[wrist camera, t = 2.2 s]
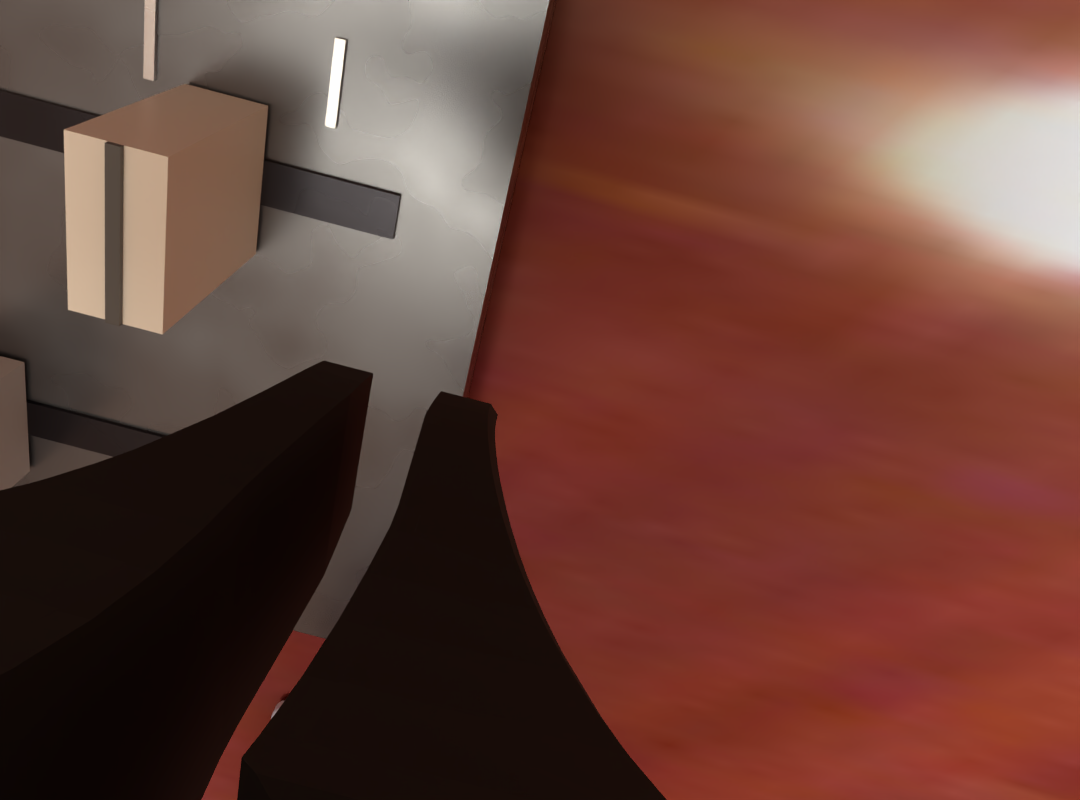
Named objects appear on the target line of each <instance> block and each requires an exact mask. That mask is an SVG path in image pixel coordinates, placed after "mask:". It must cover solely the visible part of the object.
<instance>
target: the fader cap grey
mask: <svg viewBox="0 0 1080 800" xmlns="http://www.w3.org/2000/svg"><path fill="white" fill-rule="evenodd" d="M28 472H30V462H29V443H28V423H27V404H26V384H25V365H24V362H21V361H18V360H14V359H10V358H6V357H2V356H0V490H4V489H8V488H12V487H13V486H14V485H15V484H16V483H17V482H18V481H19V480H21V479H22V478H23V477H24V476H25V475H26V474H27V473H28Z"/></svg>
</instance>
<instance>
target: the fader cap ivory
mask: <svg viewBox="0 0 1080 800" xmlns="http://www.w3.org/2000/svg"><path fill="white" fill-rule="evenodd" d="M267 115H268V105H264V104H260V103H256V102H252V101H249V100H245V99H241V98H237V97H233V96H230V95H226V94H222V93H218V92H215V91H211V90H207V89H203V88H199V87H196V86H192V85H188V84H183V85H180V86H178V87H175V88H172V89H170V90H167V91H164V92H162V93H159V94H156V95H154V96H151V97H149V98H146V99H143V100H141V101H138V102H135V103H133V104H130V105H127V106H125V107H122V108H119V109H117V110H114V111H111V112H109V113H106V114H104V115H101V116H98V117H96V118H93V119H90V120H88V121H85V122H82V123H80V124H77V125H74V126H72V127H69V128H66V129H64V166H65V207H66V249H67V290H68V310H71V311H75V312H78V313H82V314H86V315H90V316H94V317H97V318H101V319H105V323H108V324H112V325H116V326H120V325H122V324H124V325H128V326H132V327H136V328H140V329H143V330H147V331H151V332H155V333H159V334H164V333H165V332H166V331H167V330H168V329H169V328H171V327H172V326H173V325H174V324H175V323H176V322H178V321H179V320H180V319H181V318H182V317H183V316H185V315H186V314H187V313H188V312H189V311H190V310H191V309H193V308H194V307H195V306H196V305H197V304H198V303H200V302H201V301H202V300H203V299H204V298H205V297H207V296H208V295H209V294H210V293H211V292H212V291H213V290H215V289H216V288H217V287H218V286H219V285H220V284H222V283H223V282H224V281H225V280H226V279H227V278H229V277H230V276H231V275H232V274H233V273H234V272H235V271H237V270H238V269H239V268H240V267H241V266H242V265H244V264H245V263H246V262H247V261H248V260H249V259H251V258H252V257H253V256H254V255H255V254H256V246H257V234H258V223H259V211H260V199H261V187H262V175H263V163H264V151H265V139H266V127H267Z"/></svg>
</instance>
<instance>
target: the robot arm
mask: <svg viewBox="0 0 1080 800" xmlns="http://www.w3.org/2000/svg"><path fill="white" fill-rule="evenodd" d="M372 379H373V373H370V372H366V371H363V370H359V369H355V368H351V367H347V366H343V365H340V364H336V363H332V362H328V361H322V362H319V363H317V364H315V365H313V366H311V367H309V368H307V369H305V370H303V371H301V372H299V373H297V374H295V375H293V376H291V377H289V378H288V379H286V380H284V381H282V382H280V383H278V384H276V385H274V386H272V387H270V388H268V389H266V390H264V391H262V392H260V393H258V394H256V395H254V396H252V397H250V398H248V399H246V400H244V401H242V402H240V403H238V404H236V405H234V406H232V407H230V408H228V409H226V410H224V411H222V412H220V413H218V414H216V415H214V416H211V417H209V418H207V419H205V420H202V421H200V422H198V423H195V424H193V425H191V426H188V427H186V428H183V429H181V430H179V431H176V432H174V433H172V434H169V435H167V436H165V437H162V438H160V439H158V440H155V441H153V442H151V443H148V444H146V445H144V446H141V447H139V448H136V449H133V450H131V451H128V452H125V453H123V454H120V455H117V456H114V457H112V458H109V459H106V460H103V461H100V462H97V463H94V464H91V465H88V466H85V467H82V468H78V469H75V470H72V471H69V472H66V473H63V474H59V475H56V476H53V477H50V478H46V479H43V480H39V481H36V482H32V483H29V484H25V485H20V486H16V487H12V488H8V489H4V490H0V800H201V799H202V797H203V795H204V792H205V790H206V788H207V786H208V784H209V781H210V779H211V777H212V775H213V773H214V770H215V768H216V766H217V764H218V762H219V759H220V758H221V756H222V754H223V752H224V750H225V748H226V746H227V744H228V742H229V740H230V739H231V737H232V735H233V733H234V731H235V729H236V727H237V725H238V723H239V722H240V720H241V718H242V717H243V715H244V713H245V711H246V710H247V708H248V706H249V705H250V703H251V701H252V699H253V698H254V696H255V694H256V693H257V691H258V689H259V687H260V686H261V684H262V682H263V681H264V679H265V677H266V675H267V674H268V672H269V670H270V669H271V667H272V665H273V663H274V662H275V660H276V658H277V657H278V655H279V653H280V651H281V650H282V648H283V646H284V645H285V643H286V641H287V639H288V638H289V636H290V634H291V633H292V631H293V629H294V627H295V626H296V624H297V622H298V620H299V619H300V617H301V615H302V613H303V612H304V610H305V608H306V607H307V605H308V603H309V601H310V600H311V598H312V596H313V594H314V593H315V591H316V589H317V587H318V586H319V584H320V582H321V580H322V578H323V577H324V574H325V572H326V570H327V567H328V565H329V563H330V560H331V558H332V556H333V553H334V551H335V549H336V546H337V544H338V541H339V539H340V536H341V534H342V532H343V529H344V527H345V524H346V522H347V519H348V517H349V514H350V512H351V509H352V503H353V497H354V491H355V484H356V478H357V472H358V466H359V460H360V453H361V447H362V441H363V435H364V428H365V422H366V416H367V410H368V404H369V397H370V391H371V385H372ZM496 420H497V413H496V412H495V410H494V408H493V407H492V405H491V404H489V403H485V402H481V401H477V400H474V399H470V398H466V397H462V396H458V395H454V394H451V393H447V392H443V391H441V392H440V393H439V394H438V396H437V397H436V398H435V400H434V401H433V402H432V404H431V406H430V407H429V409H428V410H427V412H426V414H425V417H424V420H423V424H422V427H421V431H420V434H419V437H418V441H417V444H416V447H415V451H414V454H413V458H412V461H411V464H410V468H409V471H408V475H407V478H406V481H405V485H404V488H403V492H402V495H401V498H400V502H399V505H398V508H397V510H396V513H395V515H394V518H393V520H392V523H391V525H390V528H389V530H388V531H387V533H386V535H385V537H384V539H383V541H382V543H381V545H380V547H379V548H378V550H377V552H376V554H375V556H374V558H373V560H372V562H371V564H370V565H369V567H368V569H367V571H366V573H365V575H364V576H363V578H362V580H361V582H360V583H359V585H358V587H357V589H356V590H355V592H354V594H353V595H352V597H351V599H350V601H349V602H348V604H347V606H346V608H345V609H344V611H343V613H342V615H341V616H340V618H339V620H338V621H337V623H336V624H335V626H334V628H333V629H332V631H331V632H330V634H329V635H328V637H327V639H326V640H325V642H324V643H323V645H322V646H321V648H320V650H319V651H318V653H317V654H316V656H315V657H314V659H313V660H312V662H311V664H310V665H309V667H308V668H307V670H306V671H305V673H304V675H303V676H302V677H301V679H300V680H299V681H298V683H297V684H296V686H295V687H294V688H293V690H292V691H291V693H290V694H289V695H288V697H287V698H286V699H285V700H284V701H281V702H279V703H278V704H277V705H276V707H275V709H274V712H273V714H272V716H271V720H270V722H269V723H268V724H267V726H266V727H265V729H264V730H263V731H262V733H261V734H260V735H259V737H258V738H257V739H256V740H255V742H254V743H253V744H252V745H251V747H250V748H249V749H248V750H247V752H246V753H245V754H244V755H243V757H242V761H241V770H240V780H239V789H238V799H237V800H666V799H665V798H664V796H663V795H662V794H661V793H660V792H659V791H658V789H657V788H656V787H655V786H654V785H653V783H652V782H651V781H650V780H649V779H648V778H647V776H646V775H645V774H644V773H643V772H642V770H641V769H640V768H639V767H638V766H637V765H636V763H635V762H634V761H633V760H632V759H631V758H630V756H629V755H628V754H627V752H626V751H625V750H624V749H623V747H622V746H621V744H620V743H619V742H618V740H617V739H616V737H615V736H614V735H613V733H612V732H611V730H610V729H609V727H608V726H607V725H606V723H605V722H604V720H603V719H602V718H601V716H600V714H599V713H598V711H597V709H596V708H595V706H594V704H593V703H592V701H591V699H590V698H589V696H588V694H587V693H586V691H585V689H584V688H583V686H582V684H581V683H580V681H579V679H578V678H577V676H576V675H575V673H574V671H573V670H572V668H571V666H570V665H569V663H568V661H567V660H566V658H565V656H564V655H563V653H562V651H561V649H560V647H559V645H558V643H557V641H556V639H555V637H554V635H553V633H552V631H551V629H550V627H549V625H548V623H547V621H546V619H545V617H544V615H543V612H542V610H541V608H540V606H539V603H538V601H537V599H536V596H535V594H534V592H533V590H532V587H531V585H530V582H529V579H528V577H527V574H526V572H525V569H524V566H523V563H522V560H521V558H520V555H519V551H518V548H517V545H516V542H515V539H514V536H513V532H512V529H511V525H510V522H509V518H508V514H507V510H506V506H505V501H504V497H503V492H502V487H501V483H500V478H499V472H498V466H497V457H496V448H495V424H496Z"/></svg>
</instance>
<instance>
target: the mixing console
mask: <svg viewBox="0 0 1080 800" xmlns="http://www.w3.org/2000/svg"><path fill="white" fill-rule="evenodd" d="M555 4H556V0H0V356H2V357H6V358H10V359H14V360H18V361H21V362H24V365H25V384H26V404H27V423H28V443H29V462H30V472H28V473H27V474H26V475H25V476H24V477H23V478H22V479H21V480H19V481H18V482H17V483H16V484H15V485H14V486H13V487H16V486H20V485H25V484H29V483H32V482H36V481H39V480H43V479H46V478H50V477H53V476H56V475H59V474H63V473H66V472H69V471H72V470H75V469H78V468H82V467H85V466H88V465H91V464H94V463H97V462H100V461H103V460H106V459H109V458H112V457H114V456H117V455H120V454H123V453H125V452H128V451H131V450H133V449H136V448H139V447H141V446H144V445H146V444H148V443H151V442H153V441H155V440H158V439H160V438H162V437H165V436H167V435H169V434H172V433H174V432H176V431H179V430H181V429H183V428H186V427H188V426H191V425H193V424H195V423H198V422H200V421H202V420H205V419H207V418H209V417H211V416H214V415H216V414H218V413H220V412H222V411H224V410H226V409H228V408H230V407H232V406H234V405H236V404H238V403H240V402H242V401H244V400H246V399H248V398H250V397H252V396H254V395H256V394H258V393H260V392H262V391H264V390H266V389H268V388H270V387H272V386H274V385H276V384H278V383H280V382H282V381H284V380H286V379H288V378H289V377H291V376H293V375H295V374H297V373H299V372H301V371H303V370H305V369H307V368H309V367H311V366H313V365H315V364H317V363H319V362H322V361H328V362H332V363H336V364H340V365H343V366H347V367H351V368H355V369H359V370H363V371H366V372H370V373H373V379H372V385H371V391H370V397H369V404H368V410H367V416H366V422H365V428H364V435H363V441H362V447H361V453H360V460H359V466H358V472H357V478H356V484H355V491H354V497H353V503H352V509H351V512H350V514H349V517H348V519H347V522H346V524H345V527H344V529H343V532H342V534H341V536H340V539H339V541H338V544H337V546H336V549H335V551H334V553H333V556H332V558H331V560H330V563H329V565H328V567H327V570H326V572H325V574H324V577H323V578H322V580H321V582H320V584H319V586H318V587H317V589H316V591H315V593H314V594H313V596H312V598H311V600H310V601H309V603H308V605H307V607H306V608H305V610H304V612H303V613H302V615H301V617H300V619H299V620H298V622H297V624H296V626H295V627H294V629H293V630H294V631H298V632H302V633H306V634H310V635H314V636H317V637H321V638H325V639H327V637H328V635H329V634H330V632H331V631H332V629H333V628H334V626H335V624H336V623H337V621H338V620H339V618H340V616H341V615H342V613H343V611H344V609H345V608H346V606H347V604H348V602H349V601H350V599H351V597H352V595H353V594H354V592H355V590H356V589H357V587H358V585H359V583H360V582H361V580H362V578H363V576H364V575H365V573H366V571H367V569H368V567H369V565H370V564H371V562H372V560H373V558H374V556H375V554H376V552H377V550H378V548H379V547H380V545H381V543H382V541H383V539H384V537H385V535H386V533H387V531H388V530H389V528H390V525H391V523H392V520H393V518H394V515H395V513H396V510H397V508H398V505H399V502H400V498H401V495H402V492H403V488H404V485H405V481H406V478H407V475H408V471H409V468H410V464H411V461H412V458H413V454H414V451H415V447H416V444H417V441H418V437H419V434H420V431H421V427H422V424H423V420H424V417H425V414H426V412H427V410H428V409H429V407H430V406H431V404H432V402H433V401H434V400H435V398H436V397H437V396H438V394H439V393H440V392H441V391H443V392H447V393H451V394H454V395H458V396H462V397H466V398H468V396H469V391H470V387H471V382H472V378H473V373H474V369H475V364H476V360H477V355H478V351H479V346H480V342H481V337H482V333H483V328H484V324H485V319H486V315H487V310H488V306H489V301H490V297H491V292H492V288H493V283H494V279H495V274H496V270H497V265H498V261H499V256H500V252H501V247H502V243H503V238H504V234H505V229H506V225H507V220H508V216H509V211H510V207H511V202H512V198H513V193H514V189H515V184H516V180H517V175H518V171H519V166H520V162H521V157H522V153H523V148H524V144H525V139H526V135H527V130H528V126H529V121H530V117H531V112H532V108H533V103H534V99H535V94H536V90H537V85H538V81H539V76H540V72H541V67H542V63H543V58H544V54H545V49H546V45H547V40H548V36H549V31H550V27H551V22H552V18H553V13H554V9H555ZM183 84H188V85H192V86H196V87H199V88H203V89H207V90H211V91H215V92H218V93H222V94H226V95H230V96H233V97H237V98H241V99H245V100H249V101H252V102H256V103H260V104H264V105H268V115H267V127H266V139H265V151H264V163H263V175H262V187H261V199H260V211H259V223H258V234H257V246H256V254H255V255H254V256H253V257H252V258H251V259H249V260H248V261H247V262H246V263H245V264H244V265H242V266H241V267H240V268H239V269H238V270H237V271H235V272H234V273H233V274H232V275H231V276H230V277H229V278H227V279H226V280H225V281H224V282H223V283H222V284H220V285H219V286H218V287H217V288H216V289H215V290H213V291H212V292H211V293H210V294H209V295H208V296H207V297H205V298H204V299H203V300H202V301H201V302H200V303H198V304H197V305H196V306H195V307H194V308H193V309H191V310H190V311H189V312H188V313H187V314H186V315H185V316H183V317H182V318H181V319H180V320H179V321H178V322H176V323H175V324H174V325H173V326H172V327H171V328H169V329H168V330H167V331H166V332H165V333H164V334H159V333H155V332H151V331H147V330H143V329H140V328H136V327H132V326H128V325H124V324H122V325H120V326H116V325H112V324H108V323H105V319H101V318H97V317H94V316H90V315H86V314H82V313H78V312H75V311H71V310H68V290H67V249H66V207H65V166H64V129H66V128H69V127H72V126H74V125H77V124H80V123H82V122H85V121H88V120H90V119H93V118H96V117H98V116H101V115H104V114H106V113H109V112H111V111H114V110H117V109H119V108H122V107H125V106H127V105H130V104H133V103H135V102H138V101H141V100H143V99H146V98H149V97H151V96H154V95H156V94H159V93H162V92H164V91H167V90H170V89H172V88H175V87H178V86H180V85H183Z"/></svg>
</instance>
